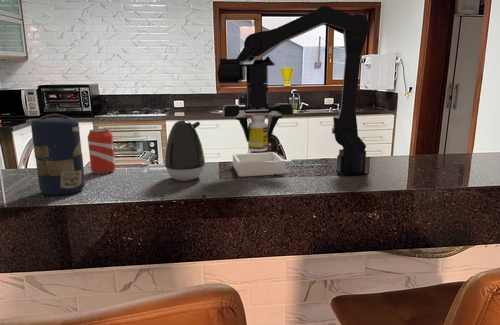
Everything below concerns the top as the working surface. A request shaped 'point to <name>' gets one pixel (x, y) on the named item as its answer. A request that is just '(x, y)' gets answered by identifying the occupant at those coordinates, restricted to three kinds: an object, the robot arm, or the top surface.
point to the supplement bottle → (258, 133)
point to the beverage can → (101, 151)
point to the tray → (258, 164)
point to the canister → (58, 154)
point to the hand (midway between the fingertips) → (258, 141)
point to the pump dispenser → (184, 152)
